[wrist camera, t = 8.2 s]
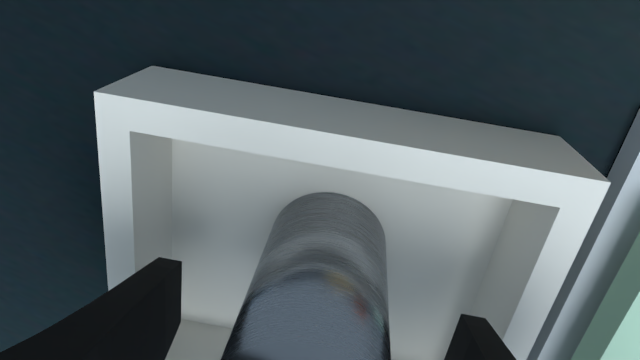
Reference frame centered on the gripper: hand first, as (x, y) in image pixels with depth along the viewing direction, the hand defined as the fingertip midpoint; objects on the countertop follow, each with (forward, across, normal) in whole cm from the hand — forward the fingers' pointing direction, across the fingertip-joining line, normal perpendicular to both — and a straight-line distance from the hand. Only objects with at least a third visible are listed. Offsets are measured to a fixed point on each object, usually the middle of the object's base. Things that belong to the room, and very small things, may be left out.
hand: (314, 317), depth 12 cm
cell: (+3, 0, 0) cm, 3 cm away
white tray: (+3, 0, 0) cm, 3 cm away
